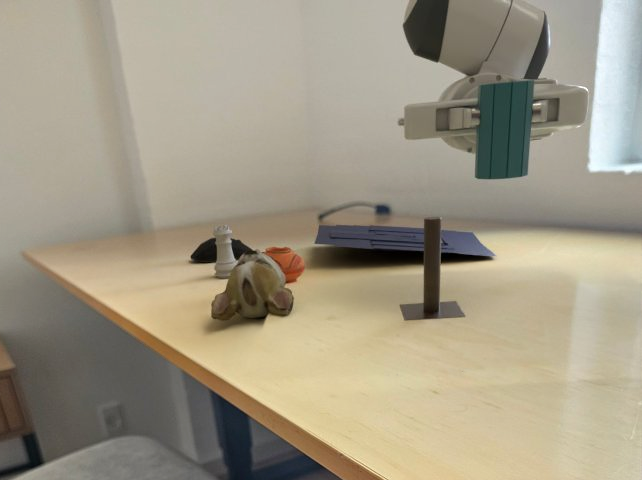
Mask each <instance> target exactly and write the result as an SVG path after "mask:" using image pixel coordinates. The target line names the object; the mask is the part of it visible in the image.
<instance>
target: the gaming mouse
mask: <svg viewBox="0 0 642 480" xmlns="http://www.w3.org/2000/svg"><path fill="white" fill-rule="evenodd" d="M230 240H231V241H232V242H231V248H232V252H233V255H234V258H235V259H236V260H239V258H240V257H241V256H242V255H243V254H244V253H245V252H246V251H248V250H253V249H252V248H250V247H249V246H248V245H246V244H245V243H244V242H242V240H241V239H235V238H231V237H230ZM215 242H216V238H215V237H210V238H209V239H207V240H205V241H203V242H202V243H200V244H199V245H198V247H197V248H195V250H194V251H193V252H192V253H191V255H190V260H193V261H196V262H200V263H212V262H213V263H214V262H215V263H216V261H217V245H216V244H215ZM261 252H262V253H264V252H265V251H261Z"/></svg>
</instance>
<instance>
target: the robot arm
mask: <svg viewBox="0 0 642 480" xmlns="http://www.w3.org/2000/svg"><path fill="white" fill-rule="evenodd" d="M402 30H403V33H404V36H405V40H406V42H407V44H408V47H409V48H410V50H411V52H412V54H413V55H414V56H416V57H418V58H422V59H425V60H428V61H431V62H432V63H433V62H434V63H437V64H438V63H440V64H442V65H444V66H446V67H448V68H450V69H453V70H454V71H457V72H458V73H460V74H463V75H464V77H462V78H460V79H458V80H456V81H454V82H453V83H451V84H450V85H449V86H447V87H446V88H445V89H444V91H443V92H441V94H440V96H439V97H438V99H437V101H431V102H430V101H427V102H417V103H408V104H406V105H405V106H404V107H403V117H399V118H397V126H399V127H403V132H404V133H403V135H404V138H405V140H410V141H414V140H415V141H416V140H417V141H418V140H428V139H441V140H442V141H443V142H444V143H445V144H447V145H448V146H449V147H451V148H453V149H456V150H460V151H461V152H466V153H467V154H468V153H469V154H472V155H476V130H477V127H479V125H480V118H479V117H480V115H481V110H480V108H477V103H478V86H479V85H484V84H493V83H503V82H514V81H527V80H534V94H533V106H532V122H531V136H530V142H532V141H538V140H543V139H549V138H552V137H553V134H554V133H558V132H563V131H567V130H573V129H576V128H580V127H582V126H584V125H585V123H586V122H587V117H588V110H589V102H590V101H589V100H590V93H589V90H588V88H587V87H585V86H579V85H572V84H561V83H558V80H557V79H556V78H547V77H544V78H543V77H542V78H539V77H540V75H541V73H542V71H543V69H544V66H545V65H546V61H547V59H548V55H549V52H550V48H551V33H550V24H549V19H548V16H547V14H546V12H545V11H544V10H542V9H541V8H538V7H537V6H535V5H533V4H531V3H529V2H527V1H525V0H409V1H408V3H407V6H406V8H405V11H404V16H403V23H402Z"/></svg>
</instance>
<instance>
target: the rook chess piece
mask: <svg viewBox="0 0 642 480" xmlns="http://www.w3.org/2000/svg"><path fill="white" fill-rule="evenodd" d="M213 230H214V231H213V232H212V235H213V236H214V238H216V242H215V244H216V245H217V261H215V265H214V266H213V267H214V268H213V270H214V271H215V272H214V274H213V275H214V276H215V277H216V278H217V279H228V278H229V275H230V274H231V271H232V270H233V268H234V267H235V266H236V265H237V263H238V261H237V259H235V258H234V255H233V252H232V248H231V242H232V241H231V240H230V238H231V236H232V234H233V231H232V230H231V228H230V225H227V224H225V225H224V224H223V226H221V225H217V226H213Z"/></svg>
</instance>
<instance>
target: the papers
mask: <svg viewBox="0 0 642 480" xmlns="http://www.w3.org/2000/svg"><path fill="white" fill-rule="evenodd" d="M314 245H325V246H333V247H343V248H355V249H359V250H376V251H390V252H391V251H392V252H408V253H410V252H411V253H424V227H409V226H393V225H391V226H389V225H373V224H372V225H371V224H370V225H357V224H353V225H349V224H336V225H329V224H328V225H325V224H319V225H318V229H317V234H316V237H315V241H314ZM451 253H453V254H456V255H457V254H458V255H470V256H471V255H472V256H485V257H486V256H487V257H497V255H496V254H495V253H494V252H493V251H491V250H490V249H489V248H488V247H487V246H485V245H484V244H482V243H481V240H479V238H477V236H476V235H475V234H474V232H473V231H469V232H468V231H457V230H447V229H441V254H444V255H448V254H451Z"/></svg>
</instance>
